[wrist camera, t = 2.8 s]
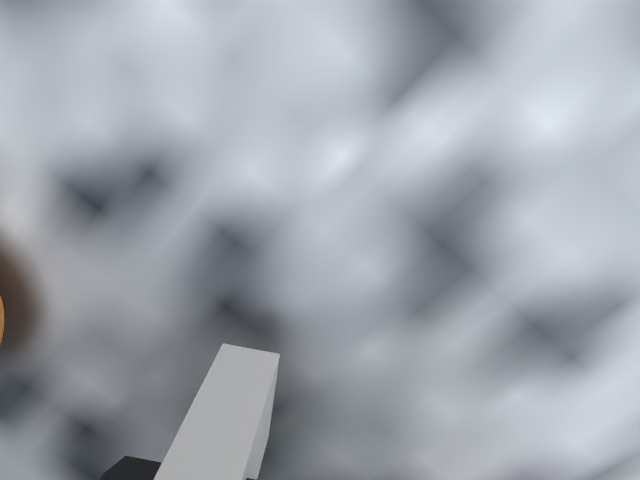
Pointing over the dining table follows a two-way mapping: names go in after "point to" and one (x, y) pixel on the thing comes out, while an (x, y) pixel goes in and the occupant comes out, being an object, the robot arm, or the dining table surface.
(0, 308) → the ball
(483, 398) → the dining table surface
